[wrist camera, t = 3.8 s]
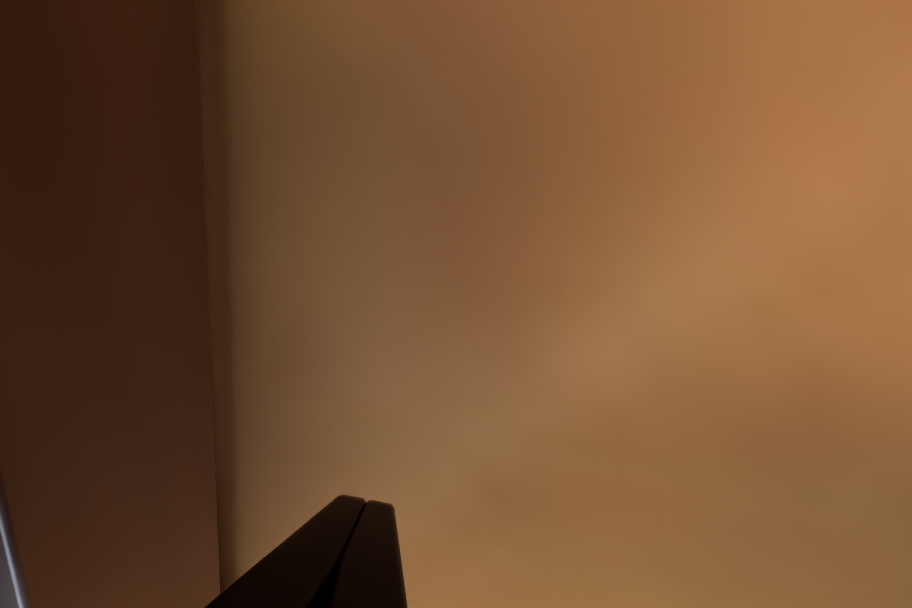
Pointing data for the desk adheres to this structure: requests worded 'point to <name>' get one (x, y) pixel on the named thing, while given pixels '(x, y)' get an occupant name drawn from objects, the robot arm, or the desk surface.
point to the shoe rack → (104, 309)
